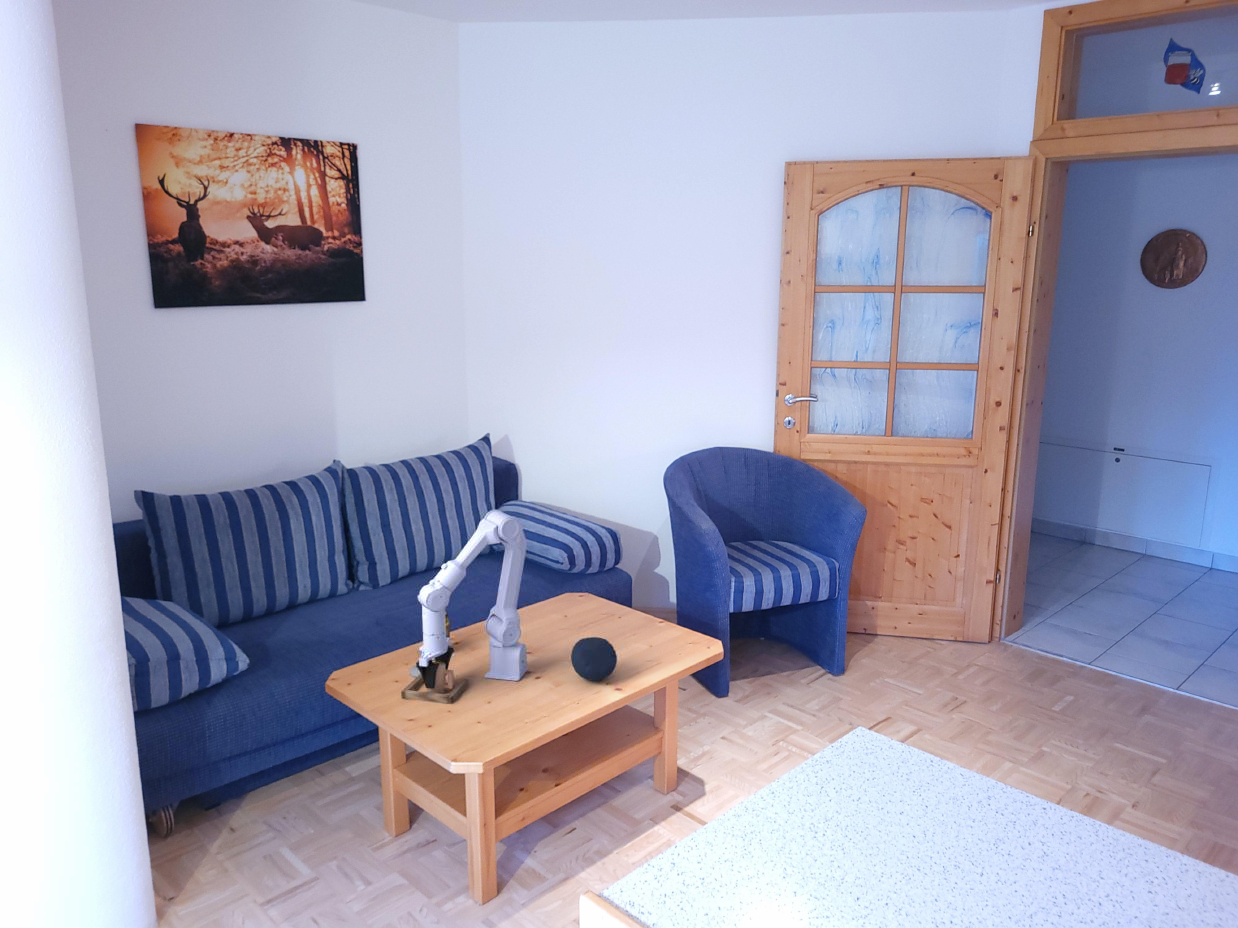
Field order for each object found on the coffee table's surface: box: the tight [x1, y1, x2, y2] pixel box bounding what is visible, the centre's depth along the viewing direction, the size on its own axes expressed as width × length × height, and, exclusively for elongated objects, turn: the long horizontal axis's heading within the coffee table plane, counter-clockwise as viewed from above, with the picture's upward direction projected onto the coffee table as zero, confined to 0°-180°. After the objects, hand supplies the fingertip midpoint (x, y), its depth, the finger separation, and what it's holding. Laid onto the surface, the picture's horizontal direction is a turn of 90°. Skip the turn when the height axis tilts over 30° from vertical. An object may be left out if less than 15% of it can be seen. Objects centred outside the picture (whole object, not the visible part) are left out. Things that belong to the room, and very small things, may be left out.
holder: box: [400, 674, 470, 705], centre depth 238 cm, size 13×11×2 cm
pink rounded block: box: [426, 661, 455, 694], centre depth 238 cm, size 7×5×7 cm
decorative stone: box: [570, 636, 618, 682], centre depth 246 cm, size 12×12×10 cm
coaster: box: [408, 665, 421, 679], centre depth 250 cm, size 8×8×1 cm
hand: (436, 681), depth 238 cm, fingers open, 7 cm apart
